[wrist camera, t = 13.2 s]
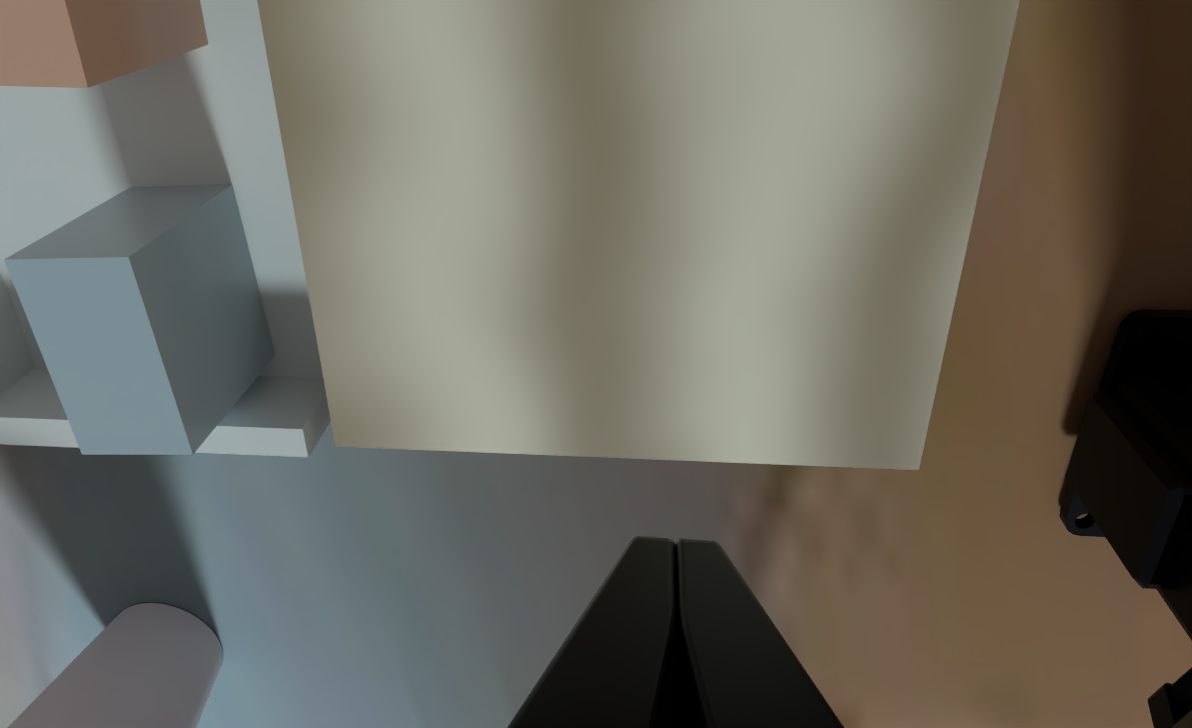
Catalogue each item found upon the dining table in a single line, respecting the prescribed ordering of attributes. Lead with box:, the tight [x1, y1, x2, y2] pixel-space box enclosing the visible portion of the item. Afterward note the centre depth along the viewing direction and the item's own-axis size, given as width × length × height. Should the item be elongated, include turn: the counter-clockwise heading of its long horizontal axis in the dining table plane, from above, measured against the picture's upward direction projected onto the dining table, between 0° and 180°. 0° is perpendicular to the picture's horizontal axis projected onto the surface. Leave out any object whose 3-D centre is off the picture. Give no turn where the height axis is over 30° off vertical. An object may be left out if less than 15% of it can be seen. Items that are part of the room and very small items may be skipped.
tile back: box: [4, 184, 276, 455], centre depth 20 cm, size 4×4×2 cm
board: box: [257, 0, 1020, 470], centre depth 19 cm, size 14×15×2 cm
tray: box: [0, 0, 331, 457], centre depth 19 cm, size 9×15×3 cm, turn 0°
